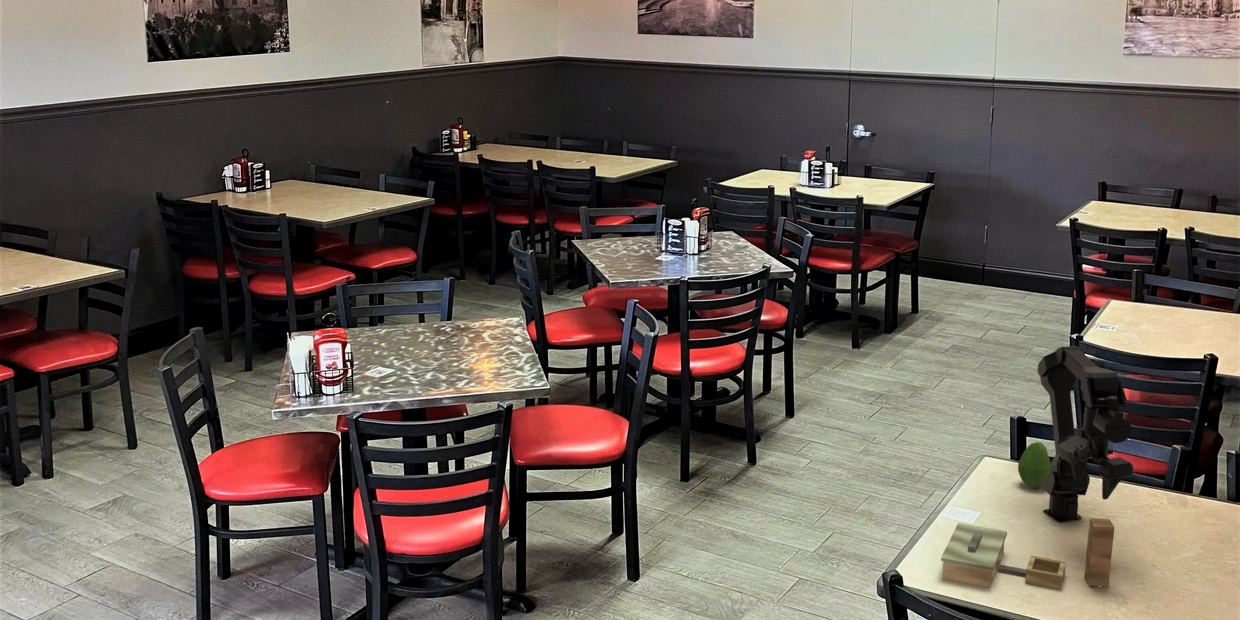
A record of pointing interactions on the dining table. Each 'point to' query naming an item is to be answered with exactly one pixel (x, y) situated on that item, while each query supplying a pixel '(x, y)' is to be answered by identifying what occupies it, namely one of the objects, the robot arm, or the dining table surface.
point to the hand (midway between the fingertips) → (1091, 491)
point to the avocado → (1034, 465)
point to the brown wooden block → (1099, 552)
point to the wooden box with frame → (992, 559)
